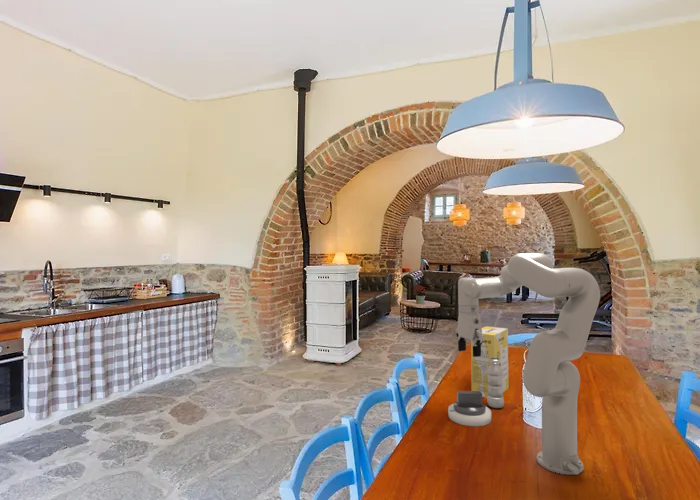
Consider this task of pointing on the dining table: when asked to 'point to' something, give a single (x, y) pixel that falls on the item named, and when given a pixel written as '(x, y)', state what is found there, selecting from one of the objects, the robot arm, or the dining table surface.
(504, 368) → the pasta box
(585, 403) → the dining table surface
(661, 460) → the dining table surface
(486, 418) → the dial housing
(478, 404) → the dial knob
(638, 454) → the dining table surface
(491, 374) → the plastic bottle
